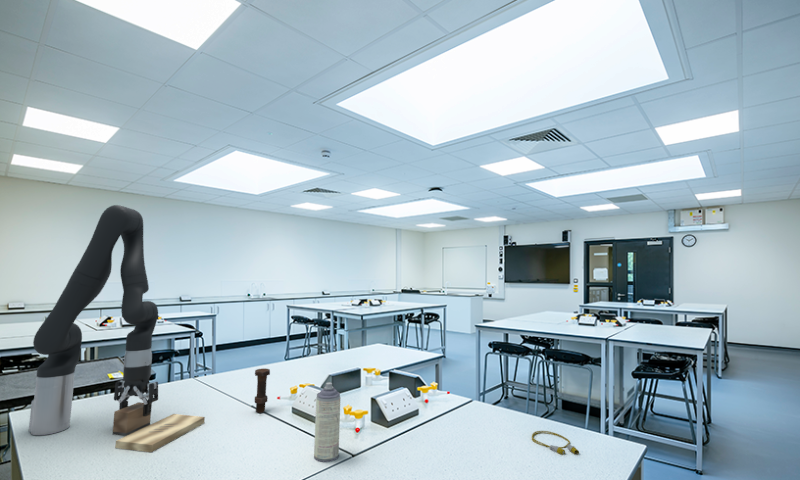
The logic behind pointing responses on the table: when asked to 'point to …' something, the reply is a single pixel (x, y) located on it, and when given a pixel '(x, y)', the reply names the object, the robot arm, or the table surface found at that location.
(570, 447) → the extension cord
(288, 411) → the table surface
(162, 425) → the pine board
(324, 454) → the aerosol can
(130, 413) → the block
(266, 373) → the bolt
